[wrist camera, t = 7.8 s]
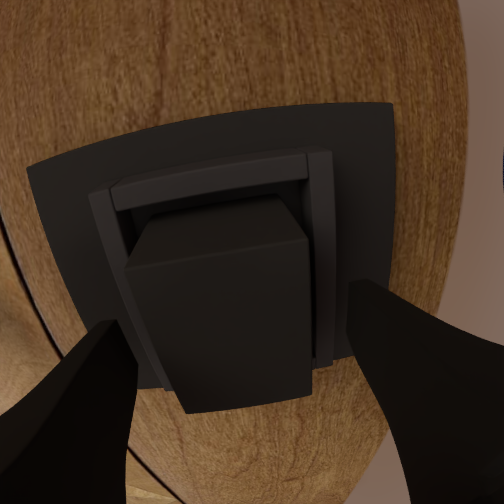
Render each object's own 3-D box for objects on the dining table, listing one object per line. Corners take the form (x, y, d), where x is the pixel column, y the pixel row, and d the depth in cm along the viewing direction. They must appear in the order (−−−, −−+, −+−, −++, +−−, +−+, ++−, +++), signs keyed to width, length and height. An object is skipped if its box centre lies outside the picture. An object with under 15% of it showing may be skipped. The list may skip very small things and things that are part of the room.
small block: (277, 192, 11) (309, 237, 7) (289, 325, 13) (312, 395, 10) (151, 214, 11) (121, 269, 7) (189, 342, 13) (185, 415, 10)
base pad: (380, 102, 10) (416, 104, 8) (372, 337, 16) (390, 367, 14) (37, 162, 10) (3, 177, 8) (124, 377, 15) (116, 411, 13)
